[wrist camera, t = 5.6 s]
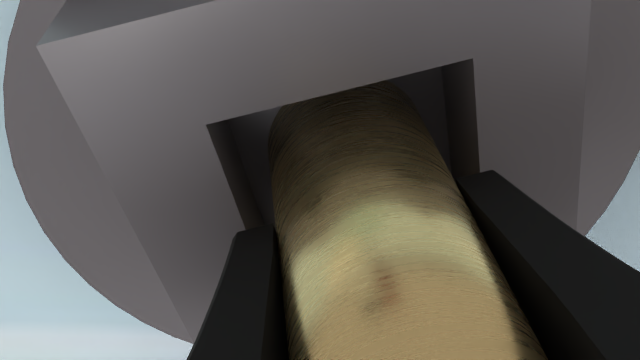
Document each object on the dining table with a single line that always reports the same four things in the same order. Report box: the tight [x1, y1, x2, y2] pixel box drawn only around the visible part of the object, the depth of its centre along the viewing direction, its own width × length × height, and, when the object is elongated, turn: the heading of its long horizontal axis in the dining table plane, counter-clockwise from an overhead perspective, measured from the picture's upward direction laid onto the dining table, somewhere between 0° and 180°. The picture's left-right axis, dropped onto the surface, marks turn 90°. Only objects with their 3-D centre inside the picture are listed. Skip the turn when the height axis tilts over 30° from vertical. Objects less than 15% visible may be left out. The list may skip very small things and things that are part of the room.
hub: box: [3, 0, 640, 344], centre depth 12 cm, size 13×13×3 cm
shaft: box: [268, 80, 548, 360], centre depth 9 cm, size 4×3×7 cm
